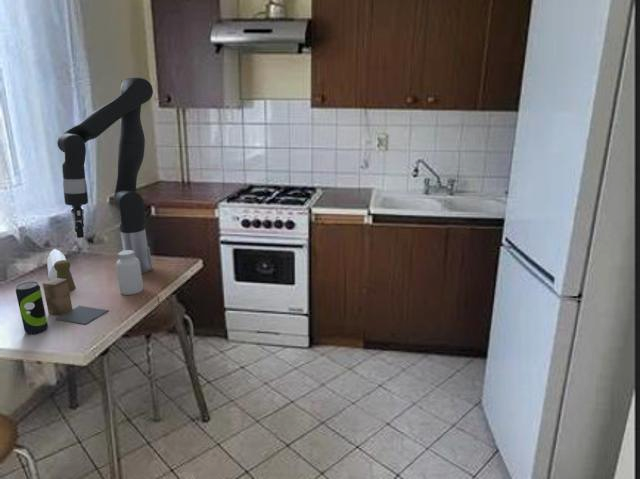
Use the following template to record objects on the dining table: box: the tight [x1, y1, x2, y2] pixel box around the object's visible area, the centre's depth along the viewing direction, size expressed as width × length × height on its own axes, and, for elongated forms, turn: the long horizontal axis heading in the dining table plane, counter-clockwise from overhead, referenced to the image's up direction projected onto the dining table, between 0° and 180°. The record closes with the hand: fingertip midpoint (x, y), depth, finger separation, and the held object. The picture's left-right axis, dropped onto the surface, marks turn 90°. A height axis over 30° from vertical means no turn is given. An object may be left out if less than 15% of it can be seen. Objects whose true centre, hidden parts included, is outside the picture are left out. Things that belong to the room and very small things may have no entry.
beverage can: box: [15, 280, 49, 335], centre depth 143 cm, size 6×6×15 cm
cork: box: [54, 259, 76, 292], centre depth 174 cm, size 6×6×11 cm
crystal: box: [46, 248, 67, 280], centre depth 194 cm, size 7×7×24 cm
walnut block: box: [42, 278, 74, 317], centre depth 156 cm, size 5×5×11 cm
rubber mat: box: [55, 305, 109, 326], centre depth 154 cm, size 12×10×1 cm
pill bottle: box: [115, 250, 144, 296], centre depth 171 cm, size 8×8×15 cm
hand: (79, 234), depth 174 cm, fingers open, 8 cm apart
